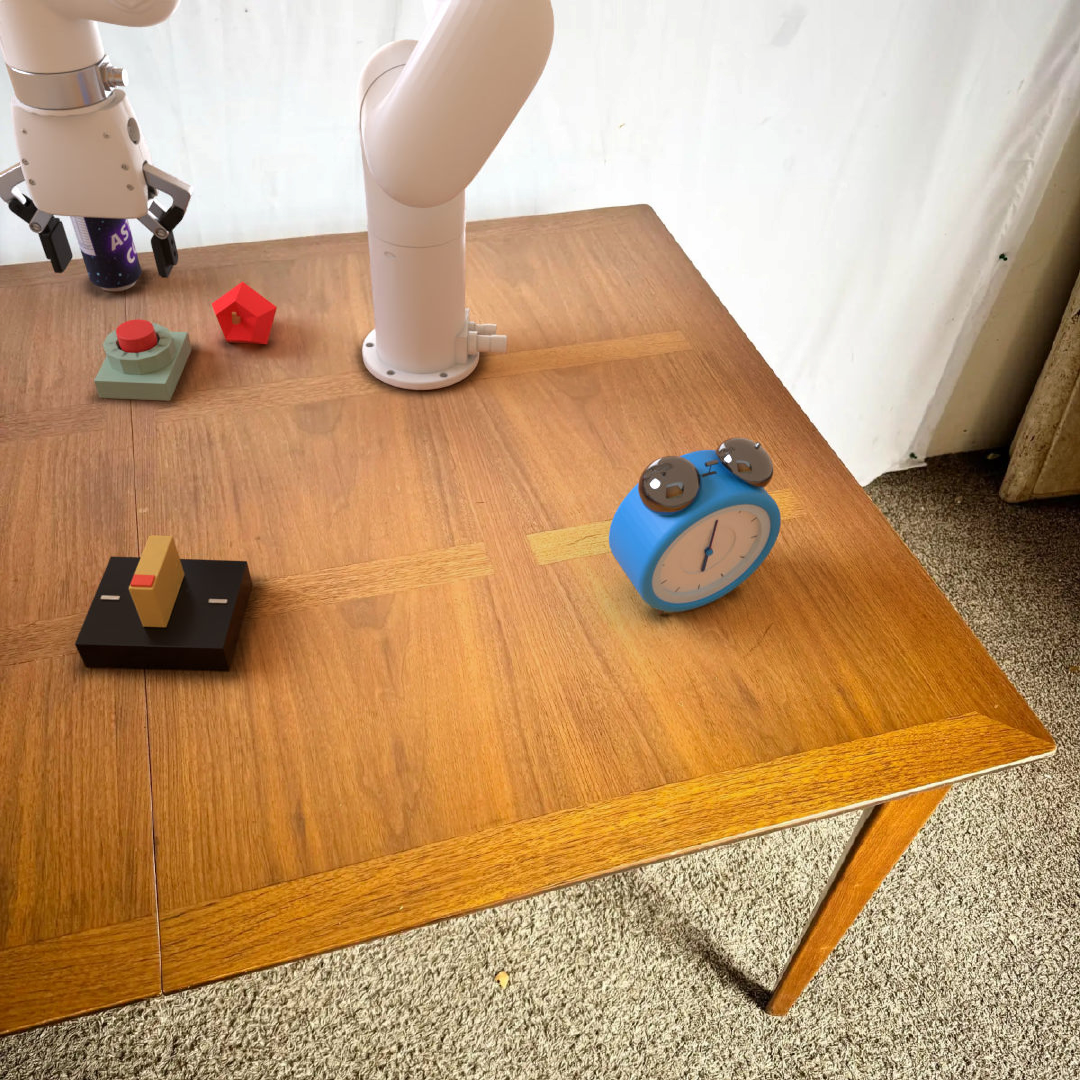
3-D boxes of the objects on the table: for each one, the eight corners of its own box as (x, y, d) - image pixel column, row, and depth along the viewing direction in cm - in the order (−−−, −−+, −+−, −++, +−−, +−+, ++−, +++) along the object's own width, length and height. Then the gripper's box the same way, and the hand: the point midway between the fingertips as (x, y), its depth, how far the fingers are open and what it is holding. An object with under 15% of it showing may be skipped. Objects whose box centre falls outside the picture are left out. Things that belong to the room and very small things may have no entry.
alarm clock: (631, 633, 80) (657, 504, 69) (597, 581, 83) (617, 450, 73) (762, 589, 84) (807, 460, 73) (725, 541, 88) (761, 412, 77)
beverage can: (128, 298, 109) (99, 198, 100) (82, 290, 110) (49, 190, 101) (152, 273, 113) (126, 174, 104) (107, 265, 114) (78, 166, 105)
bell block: (125, 346, 103) (116, 314, 100) (192, 349, 103) (184, 317, 100) (99, 398, 97) (88, 365, 94) (170, 401, 97) (161, 368, 94)
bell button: (126, 332, 98) (121, 318, 97) (161, 334, 99) (157, 319, 97) (115, 353, 96) (110, 338, 95) (152, 355, 96) (148, 340, 95)
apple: (225, 268, 105) (202, 281, 97) (287, 284, 106) (269, 299, 98) (217, 329, 108) (194, 346, 100) (278, 344, 108) (260, 363, 101)
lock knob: (162, 573, 77) (148, 532, 74) (185, 574, 77) (172, 533, 74) (142, 627, 73) (127, 586, 70) (166, 627, 73) (152, 587, 70)
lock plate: (253, 584, 81) (246, 559, 79) (229, 671, 75) (222, 647, 72) (120, 580, 80) (110, 554, 78) (85, 667, 74) (73, 642, 72)
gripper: (181, 68, 82) (217, 252, 94) (-29, 57, 81) (36, 243, 93) (158, 105, 76) (200, 293, 89) (-67, 92, 75) (7, 285, 88)
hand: (116, 267), depth 91 cm, fingers open, 9 cm apart
